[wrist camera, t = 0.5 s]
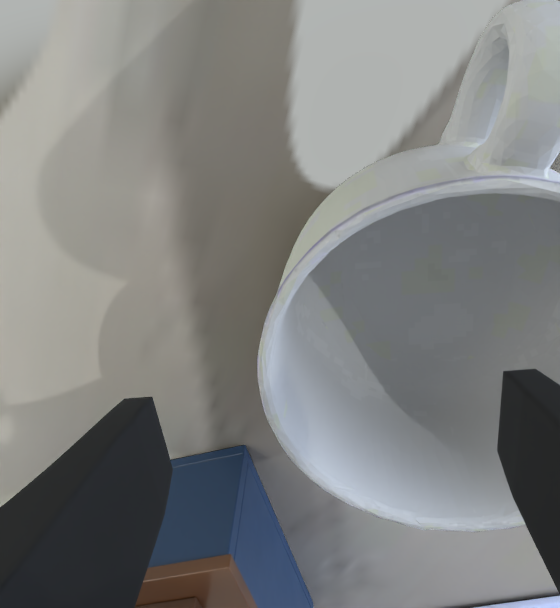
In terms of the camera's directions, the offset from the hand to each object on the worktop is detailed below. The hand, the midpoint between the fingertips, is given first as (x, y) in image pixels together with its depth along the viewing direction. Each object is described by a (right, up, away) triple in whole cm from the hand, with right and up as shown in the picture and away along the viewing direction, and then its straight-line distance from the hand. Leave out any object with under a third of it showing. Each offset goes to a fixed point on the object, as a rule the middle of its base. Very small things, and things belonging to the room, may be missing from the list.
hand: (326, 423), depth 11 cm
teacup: (+5, +5, +9) cm, 11 cm away
